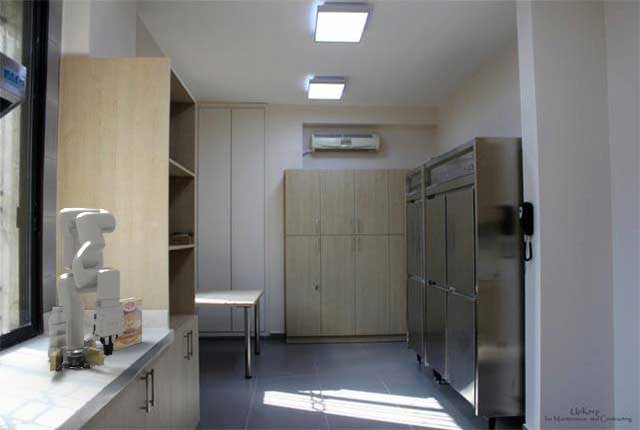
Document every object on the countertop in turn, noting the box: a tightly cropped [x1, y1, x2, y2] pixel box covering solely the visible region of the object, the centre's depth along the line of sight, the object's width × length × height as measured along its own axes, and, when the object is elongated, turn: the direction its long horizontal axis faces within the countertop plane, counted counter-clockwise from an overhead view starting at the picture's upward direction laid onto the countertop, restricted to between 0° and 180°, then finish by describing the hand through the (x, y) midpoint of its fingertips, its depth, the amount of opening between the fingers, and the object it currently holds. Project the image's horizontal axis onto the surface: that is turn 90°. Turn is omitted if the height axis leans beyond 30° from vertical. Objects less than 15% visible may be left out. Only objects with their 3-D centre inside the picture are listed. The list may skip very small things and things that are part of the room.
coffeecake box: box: [113, 297, 143, 351], centre depth 185 cm, size 15×7×20 cm, turn 158°
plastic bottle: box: [47, 305, 69, 360], centre depth 166 cm, size 6×7×20 cm
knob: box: [84, 334, 97, 348], centre depth 168 cm, size 11×3×8 cm, turn 17°
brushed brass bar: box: [49, 348, 64, 372], centre depth 148 cm, size 11×3×8 cm, turn 21°
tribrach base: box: [62, 348, 83, 370], centre depth 157 cm, size 9×10×5 cm
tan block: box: [82, 346, 105, 370], centre depth 152 cm, size 11×3×8 cm, turn 57°
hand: (108, 354), depth 154 cm, fingers closed
